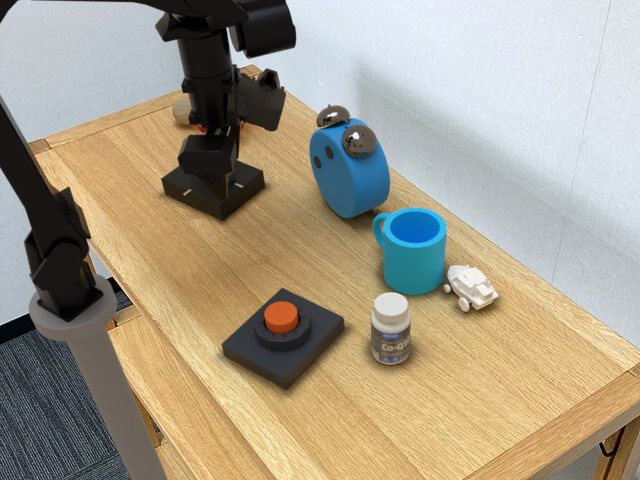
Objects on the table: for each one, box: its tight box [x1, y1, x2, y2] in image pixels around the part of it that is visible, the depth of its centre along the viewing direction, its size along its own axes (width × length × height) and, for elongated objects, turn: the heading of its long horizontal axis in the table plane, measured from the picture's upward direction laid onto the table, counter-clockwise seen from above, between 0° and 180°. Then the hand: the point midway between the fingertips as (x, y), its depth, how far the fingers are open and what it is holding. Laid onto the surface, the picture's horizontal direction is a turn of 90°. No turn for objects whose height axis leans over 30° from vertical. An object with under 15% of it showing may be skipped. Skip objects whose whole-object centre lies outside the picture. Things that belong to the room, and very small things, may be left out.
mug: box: [371, 206, 448, 296], centre depth 101 cm, size 12×8×8 cm
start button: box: [264, 301, 298, 334], centre depth 92 cm, size 4×4×2 cm
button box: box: [221, 287, 346, 391], centre depth 94 cm, size 12×10×4 cm
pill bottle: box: [370, 291, 412, 366], centre depth 91 cm, size 5×5×8 cm
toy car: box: [443, 264, 500, 313], centre depth 98 cm, size 5×8×4 cm, turn 31°
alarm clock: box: [308, 103, 391, 219], centre depth 108 cm, size 13×6×15 cm, turn 32°
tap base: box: [160, 159, 266, 221], centre depth 116 cm, size 12×12×3 cm
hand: (229, 178), depth 99 cm, fingers open, 9 cm apart
